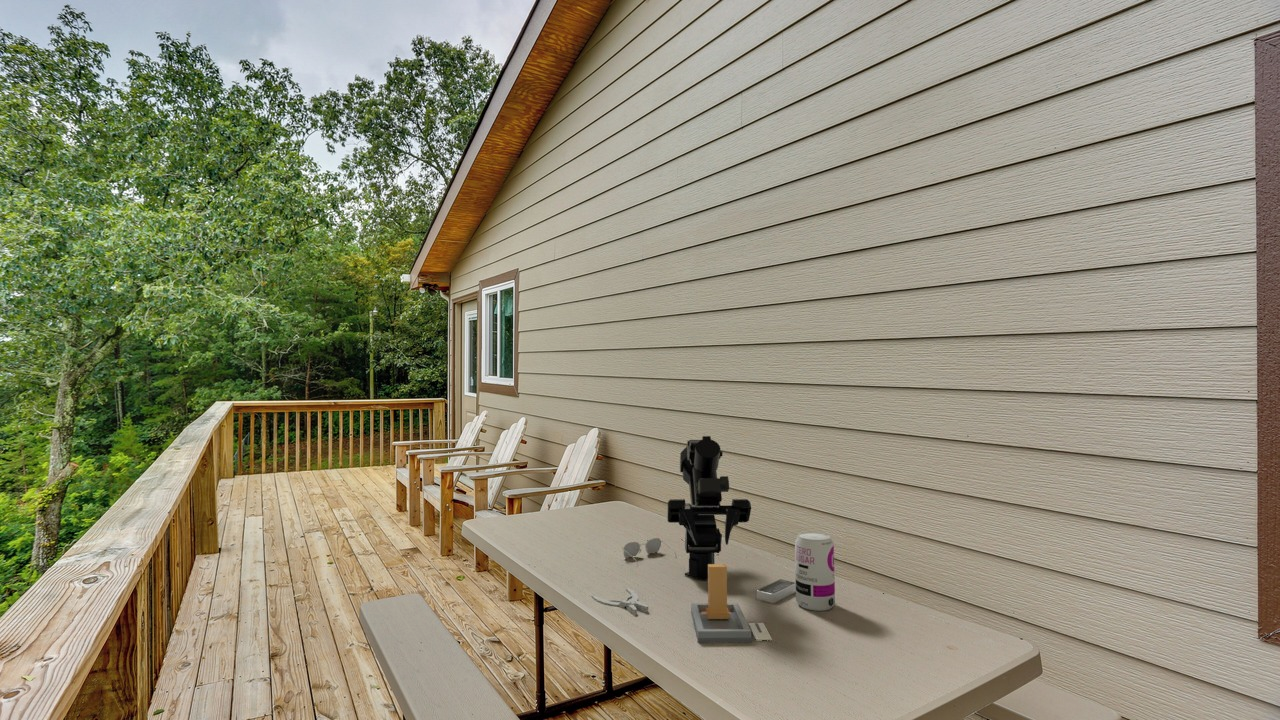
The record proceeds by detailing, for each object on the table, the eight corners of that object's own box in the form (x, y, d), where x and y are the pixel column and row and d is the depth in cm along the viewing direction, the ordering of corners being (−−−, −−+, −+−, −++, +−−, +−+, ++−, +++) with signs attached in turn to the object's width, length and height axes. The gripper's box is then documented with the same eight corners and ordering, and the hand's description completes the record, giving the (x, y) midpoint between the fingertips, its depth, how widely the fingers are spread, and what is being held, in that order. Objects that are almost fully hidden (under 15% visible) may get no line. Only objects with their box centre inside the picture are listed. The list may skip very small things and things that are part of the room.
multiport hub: (755, 600, 138) (755, 590, 138) (780, 588, 146) (780, 578, 146) (773, 604, 135) (772, 594, 135) (797, 592, 143) (797, 582, 143)
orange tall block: (706, 613, 126) (705, 563, 126) (727, 613, 126) (726, 563, 126) (707, 619, 123) (707, 567, 123) (729, 619, 123) (729, 567, 123)
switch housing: (691, 612, 129) (691, 603, 129) (757, 612, 129) (756, 602, 129) (698, 642, 114) (697, 631, 114) (772, 641, 114) (772, 631, 114)
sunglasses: (661, 553, 178) (662, 536, 177) (678, 564, 171) (679, 547, 170) (620, 560, 170) (622, 543, 170) (636, 573, 163) (638, 555, 163)
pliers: (628, 584, 144) (661, 603, 131) (628, 591, 144) (661, 611, 131) (590, 591, 140) (621, 612, 126) (590, 598, 139) (621, 620, 126)
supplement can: (837, 601, 136) (835, 533, 136) (832, 614, 128) (830, 542, 129) (800, 596, 139) (798, 530, 140) (793, 608, 131) (791, 538, 132)
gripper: (667, 463, 139) (670, 523, 128) (749, 463, 139) (759, 522, 128) (666, 492, 147) (668, 551, 135) (743, 492, 147) (752, 551, 135)
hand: (711, 543), depth 133 cm, fingers open, 6 cm apart
